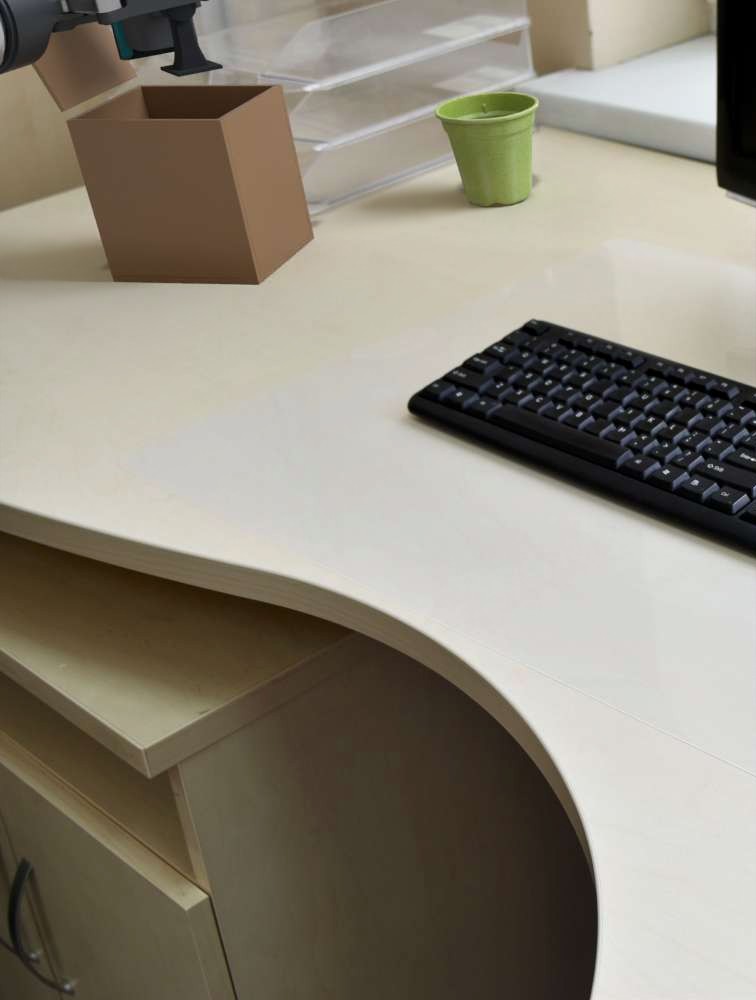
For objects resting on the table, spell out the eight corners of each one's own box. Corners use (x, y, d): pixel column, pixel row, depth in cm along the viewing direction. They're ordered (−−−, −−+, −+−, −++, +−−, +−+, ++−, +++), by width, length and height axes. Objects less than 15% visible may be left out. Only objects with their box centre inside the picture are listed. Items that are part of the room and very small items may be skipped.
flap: (65, 110, 107) (61, 112, 108) (138, 76, 117) (134, 77, 117) (15, 32, 105) (12, 34, 105) (94, 3, 114) (90, 4, 114)
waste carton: (113, 282, 115) (65, 120, 108) (178, 236, 124) (138, 84, 117) (259, 284, 113) (220, 120, 106) (314, 237, 122) (282, 84, 115)
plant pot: (496, 220, 124) (482, 124, 120) (428, 202, 129) (413, 109, 125) (569, 192, 130) (559, 100, 126) (502, 175, 136) (490, 86, 131)
